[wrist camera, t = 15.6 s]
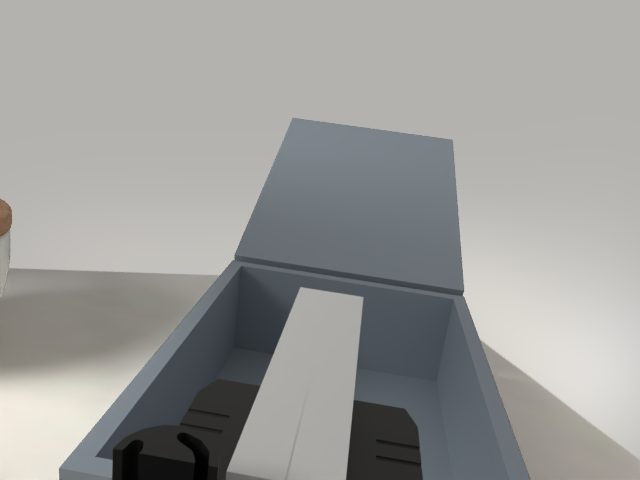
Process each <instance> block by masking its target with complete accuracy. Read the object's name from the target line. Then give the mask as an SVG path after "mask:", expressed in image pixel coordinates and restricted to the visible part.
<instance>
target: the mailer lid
mask: <svg viewBox="0 0 640 480" xmlns="http://www.w3.org/2000/svg"><path fill="white" fill-rule="evenodd" d="M454 165H455V164H454V152H453V141H452V140H450V139H443V138H436V137H428V136H421V135H414V134H406V133H399V132H392V131H385V130H377V129H370V128H363V127H355V126H348V125H340V124H334V123H326V122H319V121H311V120H304V119H297V118H293V119H292V121H291V123H290V126H289V128H288V130H287V133H286V135H285V138H284V140H283V142H282V145H281V147H280V149H279V152H278V154H277V156H276V159H275V161H274V164H273V166H272V168H271V170H270V173H269V175H268V178H267V180H266V182H265V185H264V187H263V189H262V192H261V194H260V196H259V199H258V201H257V204H256V206H255V208H254V210H253V213H252V215H251V218H250V220H249V222H248V225H247V227H246V230H245V232H244V234H243V236H242V239H241V241H240V244H239V246H238V248H237V251H236V253H235V261H240V262H246V263H253V264H259V265H265V266H272V267H278V268H285V269H291V270H297V271H304V272H310V273H317V274H323V275H329V276H336V277H342V278H349V279H355V280H361V281H368V282H374V283H381V284H387V285H393V286H400V287H406V288H413V289H419V290H425V291H432V292H438V293H445V294H451V295H457V296H463V292H464V285H463V270H462V257H461V245H460V232H459V218H458V204H457V193H456V178H455V166H454Z"/></svg>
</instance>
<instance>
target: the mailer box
mask: <svg viewBox="0 0 640 480" xmlns="http://www.w3.org/2000/svg"><path fill="white" fill-rule="evenodd" d="M300 287H303V288H309V289H316V290H322V291H328V292H335V293H341V294H347V295H354V296H360V297H363V306H362V317H361V327H360V338H359V348H358V359H357V369H356V380H355V390H354V400H358V401H363V402H369V403H375V404H381V405H387V406H393V407H399V408H404V409H406V411H407V412H408V414H409V415H410V416H411V418H412V419H413V421H414V422H415V424H416V425H417V426H418V433H419V443H420V450H419V451H420V453H421V468H422V474H423V480H530V477H529V474H528V472H527V469H526V466H525V463H524V461H523V458H522V455H521V452H520V450H519V447H518V444H517V441H516V439H515V436H514V433H513V430H512V428H511V425H510V422H509V419H508V417H507V414H506V411H505V408H504V406H503V403H502V400H501V397H500V394H499V392H498V389H497V386H496V383H495V381H494V378H493V375H492V372H491V370H490V367H489V364H488V361H487V359H486V356H485V353H484V350H483V348H482V345H481V342H480V339H479V337H478V334H477V331H476V328H475V326H474V323H473V320H472V317H471V315H470V312H469V309H468V306H467V304H466V301H465V298H464V297H463V296H457V295H451V294H445V293H438V292H432V291H425V290H419V289H413V288H406V287H400V286H393V285H387V284H381V283H374V282H368V281H361V280H355V279H349V278H342V277H336V276H329V275H323V274H317V273H310V272H304V271H297V270H291V269H285V268H278V267H272V266H265V265H259V264H253V263H246V262H240V261H234V260H233V261H232V262H231V263H230V264H229V266H228V267H227V268H226V269H225V270H224V272H223V273H222V274H221V275H220V276H219V278H218V279H217V280H216V281H215V282H214V284H213V285H212V286H211V287H210V288H209V290H208V291H207V292H206V293H205V294H204V296H203V297H202V298H201V299H200V300H199V302H198V303H197V304H196V305H195V306H194V308H193V309H192V310H191V311H190V312H189V314H188V315H187V316H186V317H185V318H184V319H183V321H182V322H181V323H180V324H179V325H178V327H177V328H176V329H175V330H174V331H173V333H172V334H171V335H170V336H169V337H168V339H167V340H166V341H165V342H164V343H163V345H162V346H161V347H160V348H159V349H158V351H157V352H156V353H155V354H154V355H153V357H152V358H151V359H150V360H149V361H148V363H147V364H146V365H145V366H144V367H143V369H142V370H141V371H140V372H139V373H138V375H137V376H136V377H135V378H134V379H133V381H132V382H131V383H130V384H129V385H128V386H127V388H126V389H125V390H124V391H123V392H122V394H121V395H120V396H119V397H118V398H117V400H116V401H115V402H114V403H113V404H112V406H111V407H110V408H109V409H108V410H107V412H106V413H105V414H104V415H103V416H102V418H101V419H100V420H99V421H98V422H97V424H96V425H95V426H94V427H93V428H92V430H91V431H90V432H89V433H88V434H87V436H86V437H85V438H84V439H83V440H82V442H81V443H80V444H79V445H78V446H77V448H76V449H75V450H74V451H73V452H72V454H71V455H70V456H69V457H68V458H67V459H66V461H65V462H64V463H63V464H62V465H61V467H60V468H59V480H112V466H113V448H114V447H115V446H116V445H117V444H118V443H119V442H120V441H122V440H123V439H124V438H125V437H126V436H128V435H131V434H133V433H135V432H137V431H139V430H142V429H144V428H149V427H155V426H161V425H174V426H179V425H180V422H181V420H182V418H183V417H184V415H185V413H186V412H188V408H189V407H190V405H191V403H192V402H193V400H194V398H195V397H196V395H197V393H198V391H200V390H201V389H203V388H204V387H206V386H207V385H209V384H211V383H212V382H214V381H215V380H217V379H223V380H229V381H235V382H241V383H247V384H252V385H258V386H261V384H262V382H263V379H264V377H265V374H266V372H267V369H268V367H269V364H270V362H271V359H272V357H273V354H274V352H275V349H276V347H277V344H278V342H279V339H280V337H281V334H282V332H283V329H284V327H285V324H286V322H287V319H288V317H289V314H290V312H291V309H292V307H293V304H294V302H295V299H296V297H297V294H298V292H299V289H300Z"/></svg>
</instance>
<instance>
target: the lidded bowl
mask: <svg viewBox="0 0 640 480" xmlns="http://www.w3.org/2000/svg"><path fill="white" fill-rule="evenodd" d="M11 224H12V210H11V208H10V206H9V205H8V204H7V203H6V202H5V201H3V200H1V199H0V298H1V296H2V294H3V291H4V287H5V283H6V279H7V275H8V269H9V260H10V228H11Z"/></svg>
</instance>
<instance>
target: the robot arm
mask: <svg viewBox="0 0 640 480" xmlns="http://www.w3.org/2000/svg"><path fill="white" fill-rule="evenodd" d="M362 306H363V297H360V296H354V295H347V294H341V293H335V292H328V291H322V290H316V289H309V288H303V287H300V289H299V292H298V294H297V297H296V299H295V302H294V304H293V307H292V309H291V312H290V314H289V317H288V319H287V322H286V324H285V327H284V329H283V332H282V334H281V337H280V339H279V342H278V344H277V347H276V349H275V352H274V354H273V357H272V359H271V362H270V364H269V367H268V369H267V372H266V374H265V377H264V379H263V382H262V384H261V386H258V385H252V384H247V383H241V382H235V381H229V380H223V379H217V380H215V381H214V382H212V383H211V384H209V385H207V386H206V387H204V388H203V389H201V390H200V391H198V393H197V395H196V397H195V398H194V400H193V402H192V403H191V405H190V407H189V408H188V412H186V413H185V415H184V417H183V418H182V420H181V422H180V425H179V426H174V425H161V426H155V427H149V428H144V429H142V430H139V431H137V432H135V433H133V434H131V435H128V436H126V437H125V438H124V439H123V440H122V441H120V442H119V443H118V444H117V445H116V446H115V447H114V448H113V466H112V480H423V474H422V468H421V453H420V451H419V450H420V443H419V433H418V426H417V425H416V424H415V422H414V421H413V419H412V418H411V416H410V415H409V414H408V412H407V411H406V409H404V408H399V407H393V406H387V405H381V404H375V403H369V402H363V401H358V400H354V390H355V380H356V369H357V359H358V348H359V338H360V327H361V317H362Z"/></svg>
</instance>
